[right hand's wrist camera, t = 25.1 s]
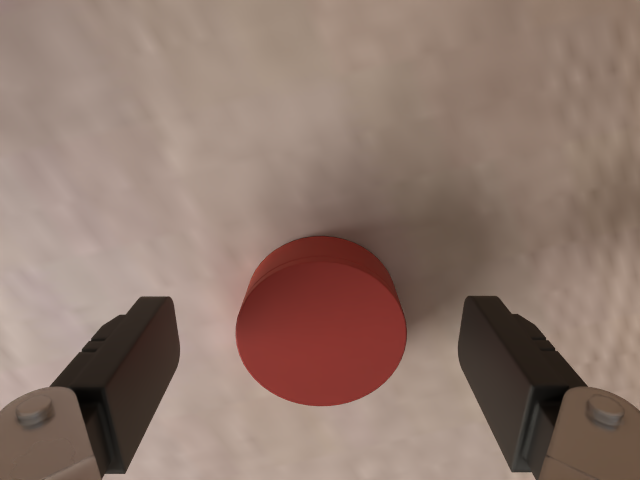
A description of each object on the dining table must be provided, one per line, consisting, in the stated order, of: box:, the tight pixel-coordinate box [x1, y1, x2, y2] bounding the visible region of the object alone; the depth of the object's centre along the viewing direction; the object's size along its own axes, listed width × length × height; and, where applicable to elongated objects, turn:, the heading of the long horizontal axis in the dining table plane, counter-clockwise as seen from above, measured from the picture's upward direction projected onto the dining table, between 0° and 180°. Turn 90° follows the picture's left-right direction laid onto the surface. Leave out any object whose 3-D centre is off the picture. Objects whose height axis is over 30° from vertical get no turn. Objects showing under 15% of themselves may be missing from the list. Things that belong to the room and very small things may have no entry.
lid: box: [236, 236, 407, 406], centre depth 13 cm, size 5×5×2 cm
